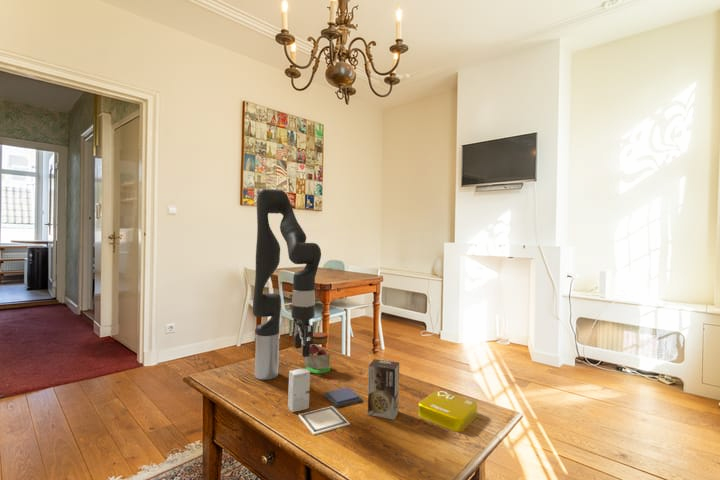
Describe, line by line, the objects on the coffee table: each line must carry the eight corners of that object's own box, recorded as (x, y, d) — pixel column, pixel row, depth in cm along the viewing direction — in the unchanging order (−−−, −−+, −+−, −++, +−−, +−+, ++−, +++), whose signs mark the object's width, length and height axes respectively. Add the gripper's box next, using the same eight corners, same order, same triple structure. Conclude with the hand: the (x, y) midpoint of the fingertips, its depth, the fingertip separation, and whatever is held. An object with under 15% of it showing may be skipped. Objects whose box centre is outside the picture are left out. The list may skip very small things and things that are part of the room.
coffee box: (398, 410, 113) (400, 362, 113) (394, 420, 107) (395, 369, 107) (372, 405, 116) (373, 358, 116) (366, 414, 110) (368, 364, 110)
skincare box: (292, 413, 109) (293, 375, 109) (287, 407, 113) (288, 370, 113) (309, 408, 113) (310, 371, 113) (304, 402, 117) (305, 367, 117)
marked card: (298, 415, 108) (298, 414, 108) (332, 407, 114) (332, 405, 114) (313, 435, 97) (313, 433, 97) (349, 424, 104) (349, 422, 104)
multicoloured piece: (303, 364, 152) (303, 330, 152) (331, 363, 153) (332, 330, 153) (301, 374, 140) (302, 338, 140) (332, 374, 142) (333, 338, 142)
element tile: (415, 416, 110) (416, 401, 110) (437, 400, 122) (437, 387, 122) (460, 434, 100) (460, 418, 100) (478, 415, 112) (479, 401, 112)
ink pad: (323, 395, 122) (323, 391, 122) (348, 390, 127) (348, 385, 127) (336, 407, 114) (336, 403, 114) (361, 401, 119) (362, 396, 119)
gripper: (286, 299, 117) (285, 346, 117) (298, 308, 104) (296, 361, 105) (307, 298, 120) (306, 344, 121) (321, 306, 108) (320, 357, 108)
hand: (301, 352), depth 113 cm, fingers open, 8 cm apart
